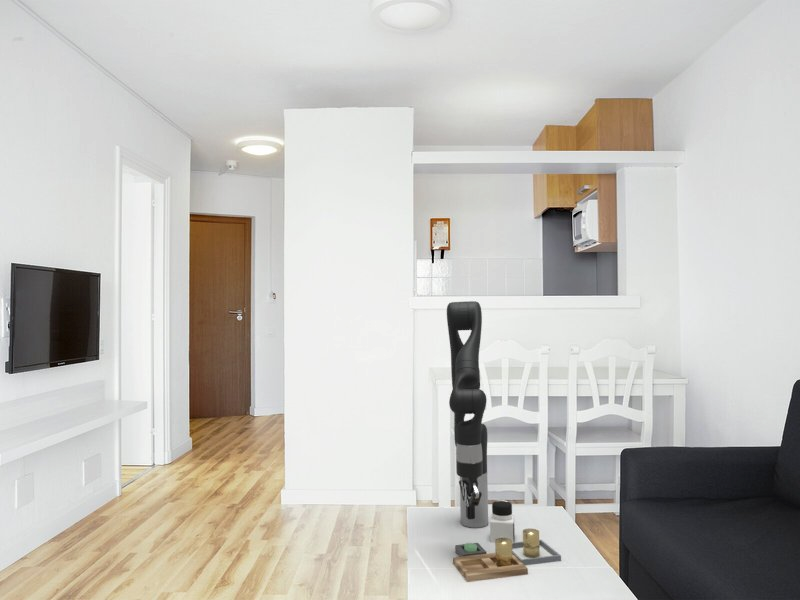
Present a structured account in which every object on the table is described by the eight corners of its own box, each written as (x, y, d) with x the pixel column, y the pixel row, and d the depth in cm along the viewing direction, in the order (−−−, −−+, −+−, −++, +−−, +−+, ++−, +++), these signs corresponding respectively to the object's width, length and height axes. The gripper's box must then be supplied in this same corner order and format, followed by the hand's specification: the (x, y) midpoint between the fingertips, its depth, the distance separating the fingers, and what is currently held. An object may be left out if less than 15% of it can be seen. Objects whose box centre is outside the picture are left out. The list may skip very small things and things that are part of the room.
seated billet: (493, 564, 169) (492, 538, 169) (508, 562, 170) (508, 537, 170) (499, 571, 164) (499, 545, 164) (515, 569, 165) (514, 543, 165)
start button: (462, 554, 176) (462, 543, 176) (474, 553, 177) (474, 542, 177) (466, 559, 173) (466, 548, 173) (478, 558, 173) (478, 547, 173)
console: (455, 555, 177) (455, 545, 177) (477, 552, 179) (477, 542, 179) (463, 565, 171) (463, 554, 171) (486, 562, 172) (486, 551, 172)
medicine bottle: (514, 546, 184) (513, 506, 184) (490, 544, 185) (489, 505, 185) (514, 537, 190) (513, 499, 191) (491, 536, 192) (490, 498, 192)
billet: (520, 553, 176) (520, 529, 177) (535, 551, 178) (534, 527, 178) (527, 559, 172) (527, 535, 172) (542, 558, 173) (541, 533, 173)
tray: (503, 552, 179) (503, 543, 179) (541, 547, 182) (541, 539, 182) (520, 569, 167) (520, 560, 167) (561, 564, 170) (561, 555, 170)
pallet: (453, 566, 170) (452, 557, 170) (509, 559, 174) (509, 550, 174) (467, 585, 158) (467, 575, 158) (527, 577, 162) (527, 568, 162)
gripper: (449, 453, 181) (451, 511, 181) (464, 465, 168) (466, 528, 168) (473, 451, 182) (474, 509, 183) (490, 463, 169) (491, 525, 170)
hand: (470, 518), depth 175 cm, fingers closed
